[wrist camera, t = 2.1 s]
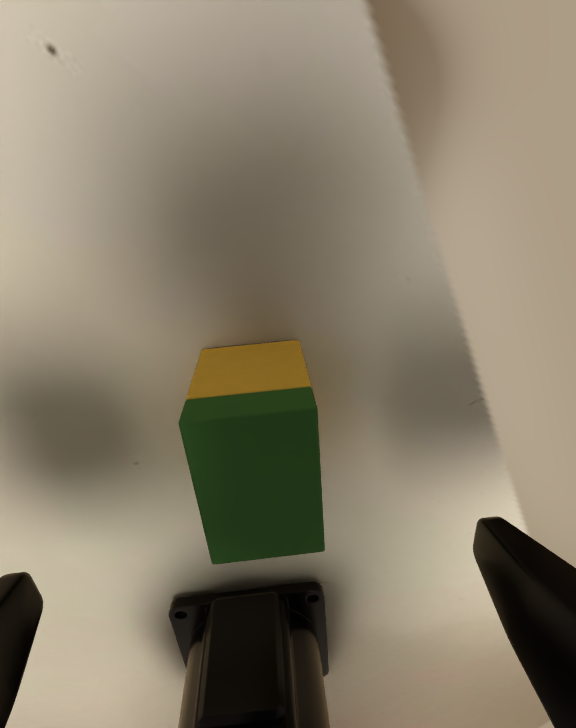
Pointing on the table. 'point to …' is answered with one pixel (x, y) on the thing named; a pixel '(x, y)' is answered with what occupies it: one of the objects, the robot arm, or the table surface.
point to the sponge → (255, 452)
